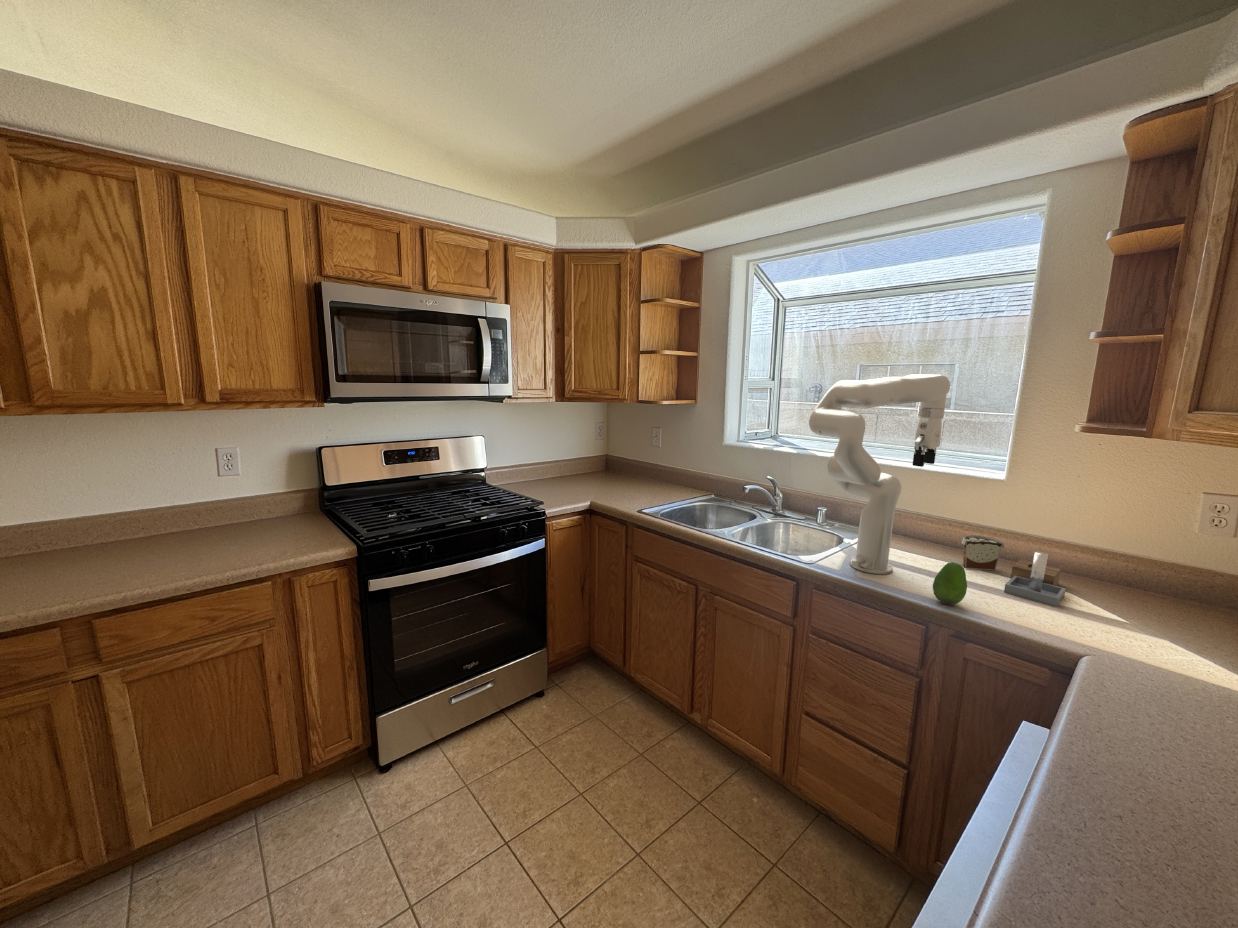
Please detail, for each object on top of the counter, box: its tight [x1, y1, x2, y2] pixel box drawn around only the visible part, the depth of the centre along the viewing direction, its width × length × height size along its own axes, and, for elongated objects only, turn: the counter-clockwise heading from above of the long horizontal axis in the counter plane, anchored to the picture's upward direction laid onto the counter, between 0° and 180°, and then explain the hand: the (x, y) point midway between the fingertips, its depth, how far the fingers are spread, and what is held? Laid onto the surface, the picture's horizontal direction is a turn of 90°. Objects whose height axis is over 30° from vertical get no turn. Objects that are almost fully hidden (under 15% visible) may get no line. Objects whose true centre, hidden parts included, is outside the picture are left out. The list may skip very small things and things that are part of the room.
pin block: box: [1010, 558, 1062, 586], centre depth 154 cm, size 10×10×5 cm
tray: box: [1003, 575, 1067, 608], centre depth 145 cm, size 11×12×2 cm
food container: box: [961, 534, 1005, 571], centre depth 166 cm, size 12×6×10 cm, turn 84°
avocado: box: [932, 562, 968, 605], centre depth 137 cm, size 8×8×12 cm
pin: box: [1028, 551, 1049, 593], centre depth 144 cm, size 3×3×12 cm
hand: (923, 464), depth 166 cm, fingers open, 9 cm apart
